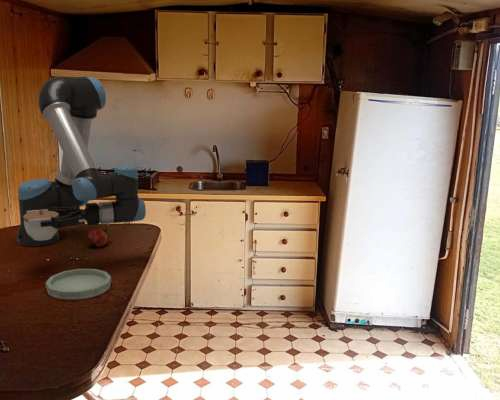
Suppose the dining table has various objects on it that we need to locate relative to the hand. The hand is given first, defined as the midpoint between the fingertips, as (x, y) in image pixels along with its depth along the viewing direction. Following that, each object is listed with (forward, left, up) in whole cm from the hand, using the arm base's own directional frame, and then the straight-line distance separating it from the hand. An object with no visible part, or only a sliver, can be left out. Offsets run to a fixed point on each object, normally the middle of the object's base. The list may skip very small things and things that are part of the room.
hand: (27, 219), depth 168 cm
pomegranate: (-27, +15, -18) cm, 35 cm away
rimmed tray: (+12, +19, -18) cm, 29 cm away
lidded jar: (-2, +4, -7) cm, 8 cm away
